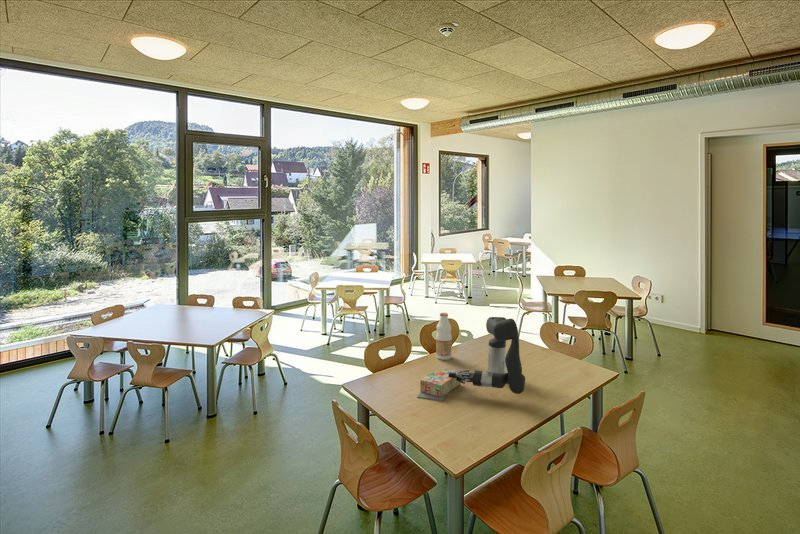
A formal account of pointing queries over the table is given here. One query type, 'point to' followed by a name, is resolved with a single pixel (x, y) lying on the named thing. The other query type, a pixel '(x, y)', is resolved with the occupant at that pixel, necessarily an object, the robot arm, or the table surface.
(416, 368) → the table surface
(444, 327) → the fruit juice
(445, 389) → the patterned cardboard box
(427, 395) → the mat
